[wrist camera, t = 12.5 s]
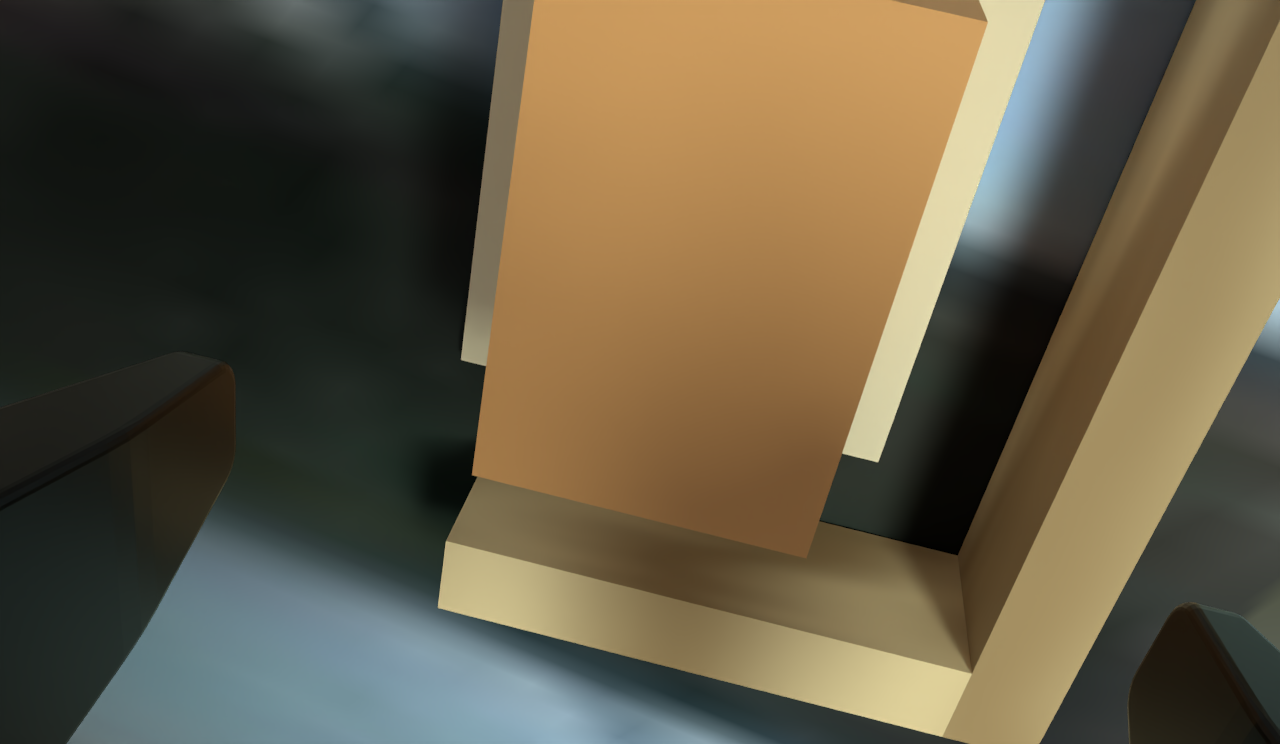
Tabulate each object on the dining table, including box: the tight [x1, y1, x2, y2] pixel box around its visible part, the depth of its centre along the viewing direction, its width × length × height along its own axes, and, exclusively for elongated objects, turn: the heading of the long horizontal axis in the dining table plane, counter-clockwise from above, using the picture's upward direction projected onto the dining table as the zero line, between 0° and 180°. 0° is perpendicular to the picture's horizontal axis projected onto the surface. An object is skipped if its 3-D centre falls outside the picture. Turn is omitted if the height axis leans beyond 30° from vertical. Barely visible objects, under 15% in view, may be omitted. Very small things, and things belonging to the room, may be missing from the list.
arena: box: [438, 0, 1280, 744], centre depth 17 cm, size 10×16×3 cm, turn 169°
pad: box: [461, 0, 1045, 462], centre depth 18 cm, size 8×10×1 cm
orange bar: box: [472, 0, 988, 558], centre depth 15 cm, size 7×4×5 cm, turn 169°
